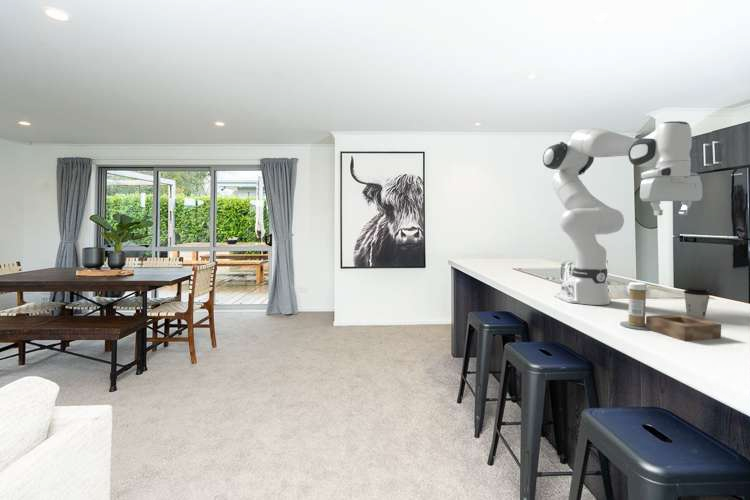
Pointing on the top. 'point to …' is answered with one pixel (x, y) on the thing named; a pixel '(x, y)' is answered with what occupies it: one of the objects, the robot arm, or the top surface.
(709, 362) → the top surface
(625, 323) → the coaster
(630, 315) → the sprinkles bottle
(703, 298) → the coffee cup
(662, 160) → the robot arm
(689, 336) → the holder block
